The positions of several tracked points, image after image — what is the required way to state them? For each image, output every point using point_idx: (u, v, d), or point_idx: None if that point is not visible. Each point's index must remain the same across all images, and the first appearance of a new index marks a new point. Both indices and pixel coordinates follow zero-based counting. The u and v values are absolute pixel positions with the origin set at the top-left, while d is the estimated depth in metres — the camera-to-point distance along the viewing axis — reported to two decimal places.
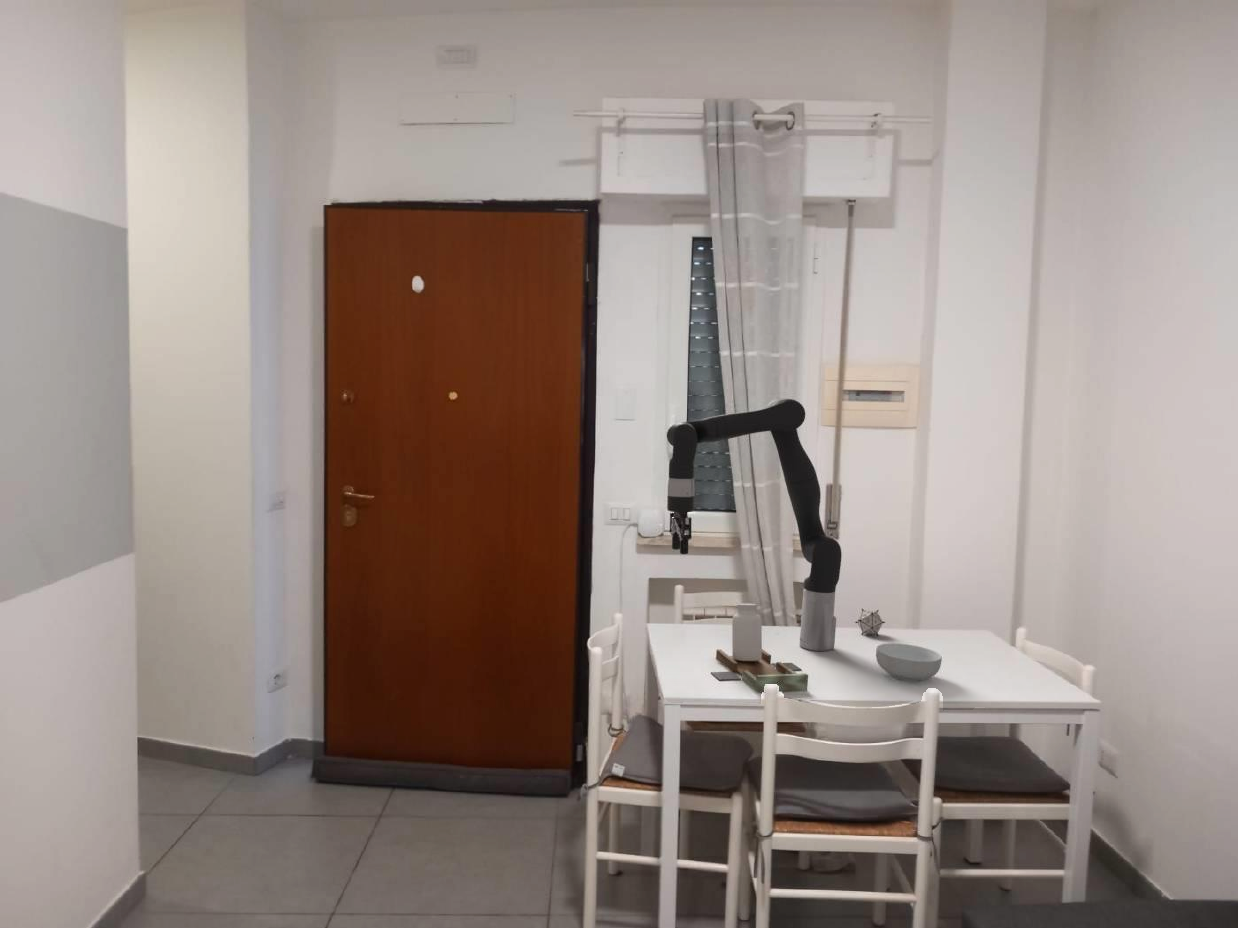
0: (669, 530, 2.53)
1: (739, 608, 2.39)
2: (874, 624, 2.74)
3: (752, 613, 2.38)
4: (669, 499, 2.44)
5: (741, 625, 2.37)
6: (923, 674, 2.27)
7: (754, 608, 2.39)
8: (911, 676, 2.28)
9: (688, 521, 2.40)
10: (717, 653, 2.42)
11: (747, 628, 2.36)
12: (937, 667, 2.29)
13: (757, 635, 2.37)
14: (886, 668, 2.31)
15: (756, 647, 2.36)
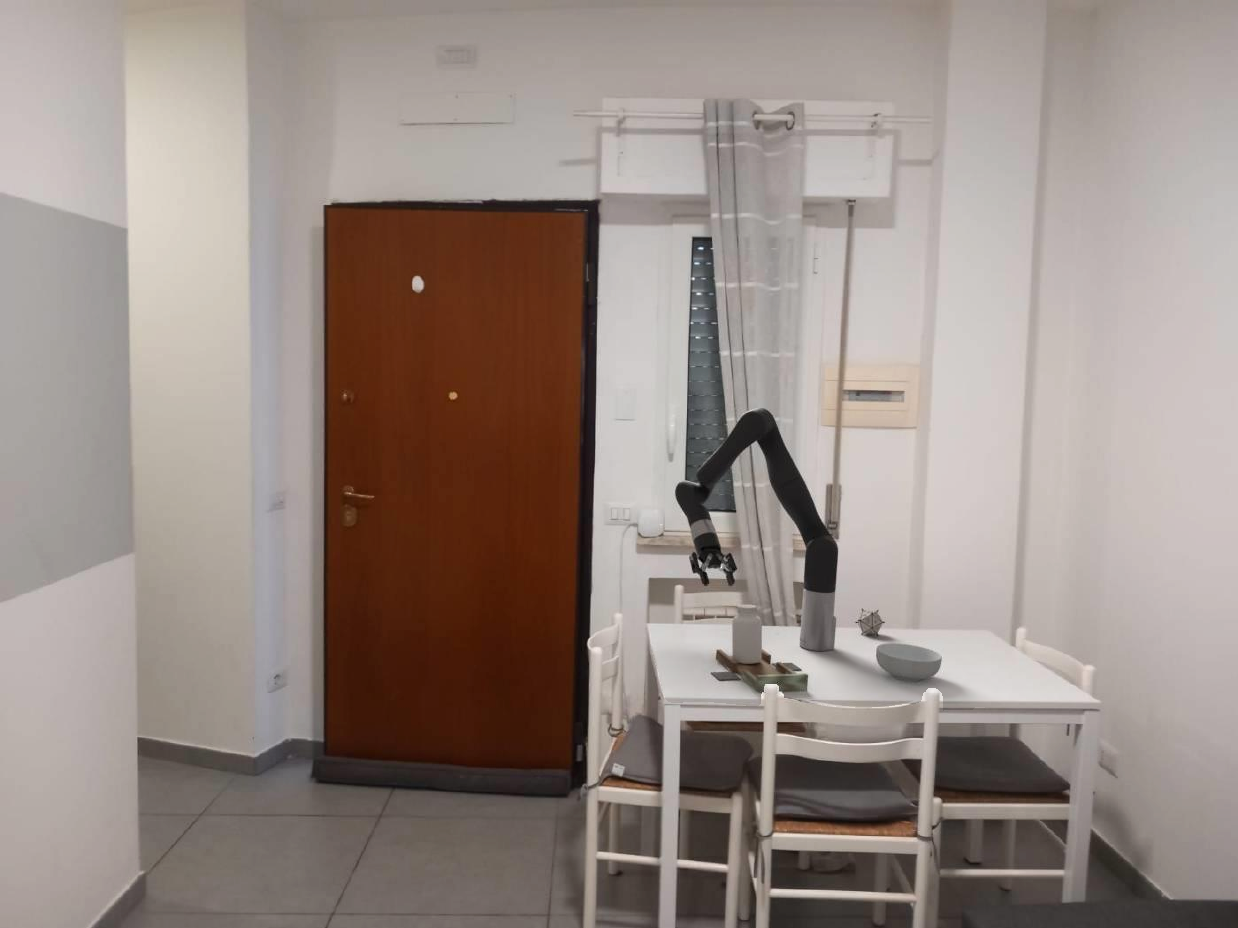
0: None
1: (739, 611, 2.38)
2: (874, 624, 2.74)
3: (752, 616, 2.37)
4: None
5: (741, 628, 2.36)
6: (923, 674, 2.27)
7: (754, 611, 2.37)
8: (911, 676, 2.28)
9: (691, 556, 2.60)
10: (717, 653, 2.42)
11: (748, 631, 2.35)
12: (937, 667, 2.29)
13: (757, 637, 2.36)
14: (886, 668, 2.31)
15: (756, 650, 2.36)
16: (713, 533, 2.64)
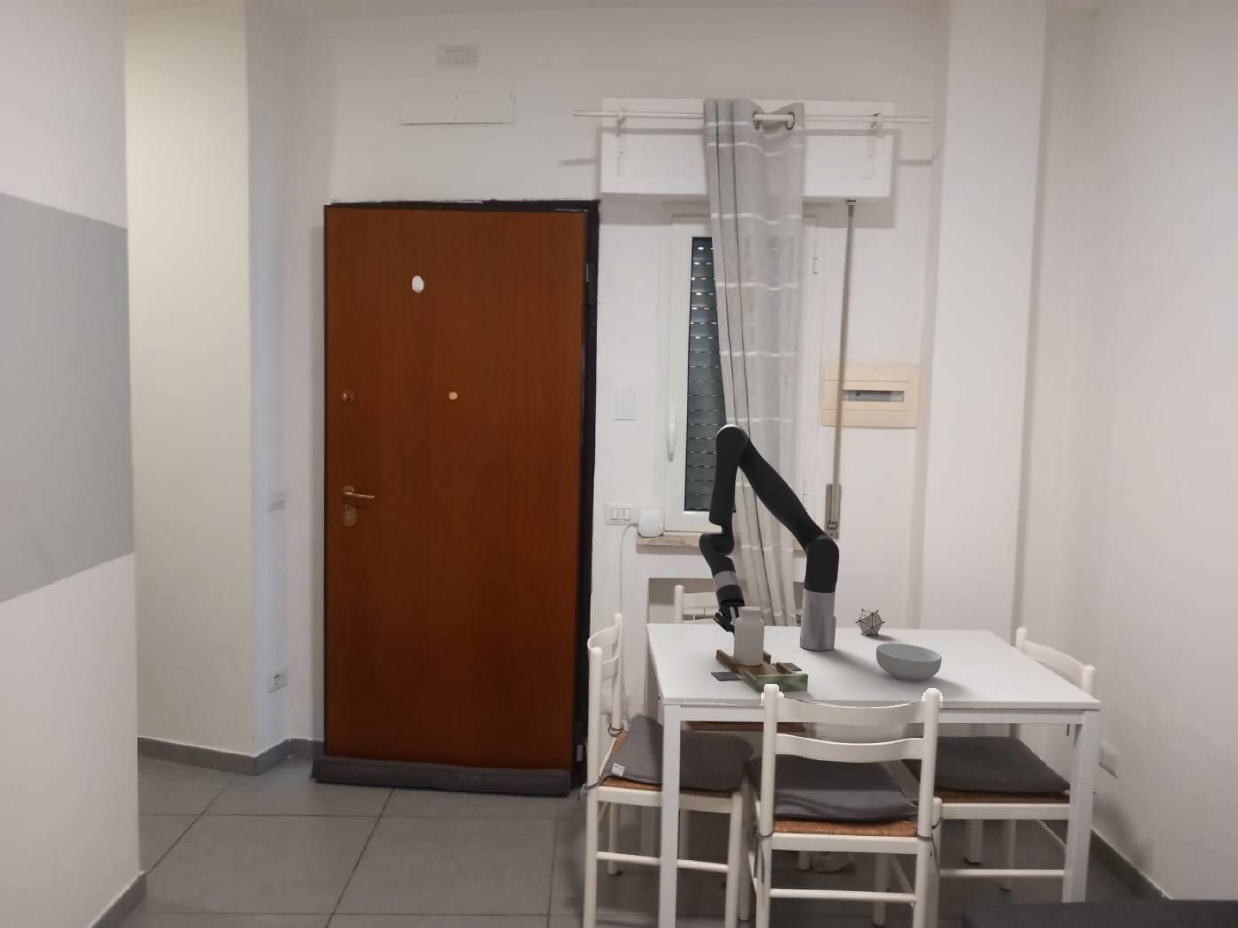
0: None
1: (743, 613, 2.36)
2: (874, 624, 2.74)
3: (756, 618, 2.36)
4: None
5: (744, 631, 2.34)
6: (923, 674, 2.27)
7: (758, 613, 2.36)
8: (911, 676, 2.28)
9: (716, 618, 2.46)
10: (717, 653, 2.42)
11: (750, 634, 2.34)
12: (937, 667, 2.29)
13: (759, 640, 2.35)
14: (886, 668, 2.31)
15: (758, 653, 2.35)
16: (735, 585, 2.51)
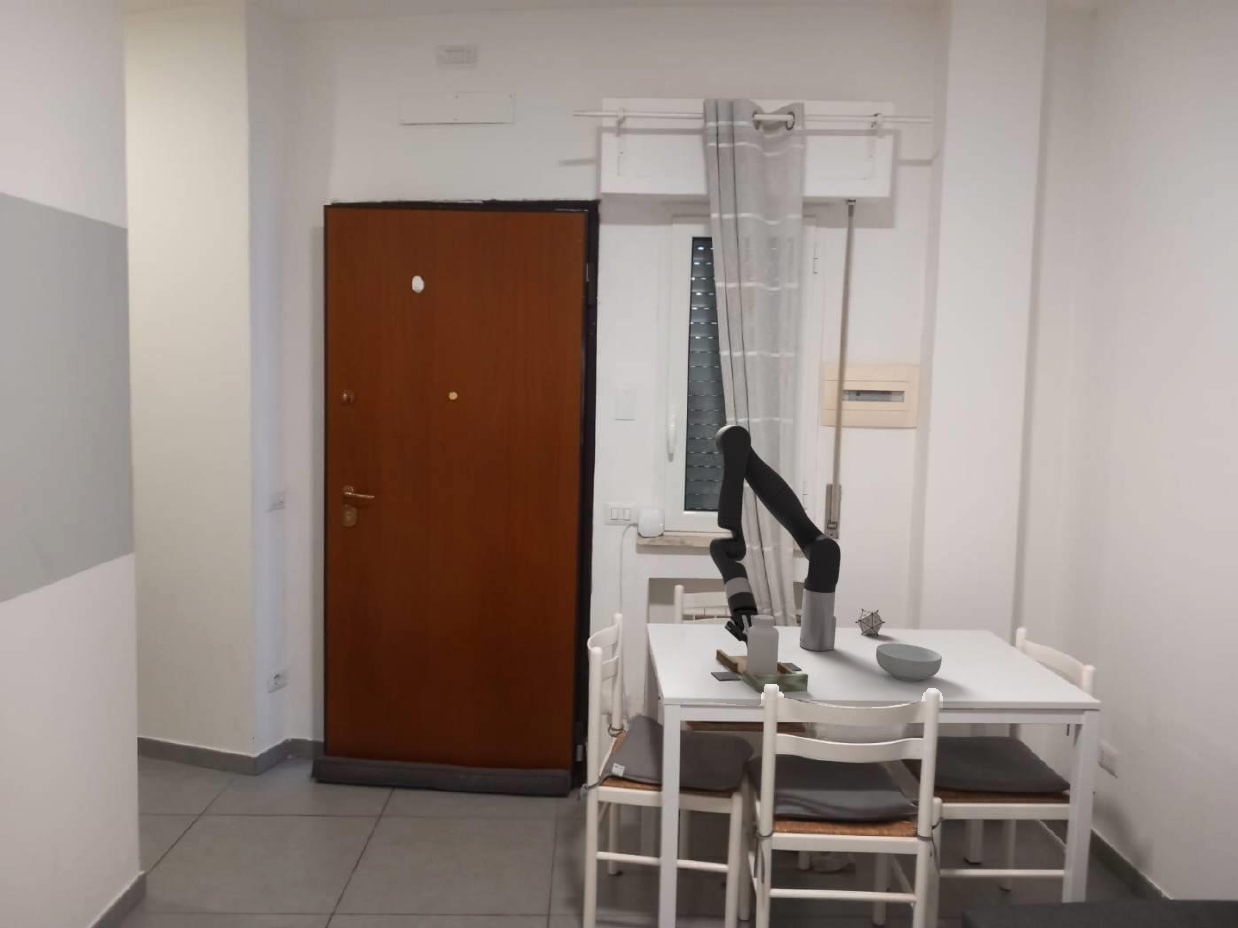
0: None
1: (757, 622, 2.27)
2: (874, 624, 2.74)
3: (770, 627, 2.27)
4: None
5: (758, 640, 2.25)
6: (923, 674, 2.27)
7: (772, 622, 2.27)
8: (911, 676, 2.28)
9: (728, 626, 2.37)
10: (717, 653, 2.42)
11: (765, 643, 2.25)
12: (937, 667, 2.29)
13: (774, 650, 2.26)
14: (886, 668, 2.31)
15: (773, 663, 2.26)
16: (747, 592, 2.42)
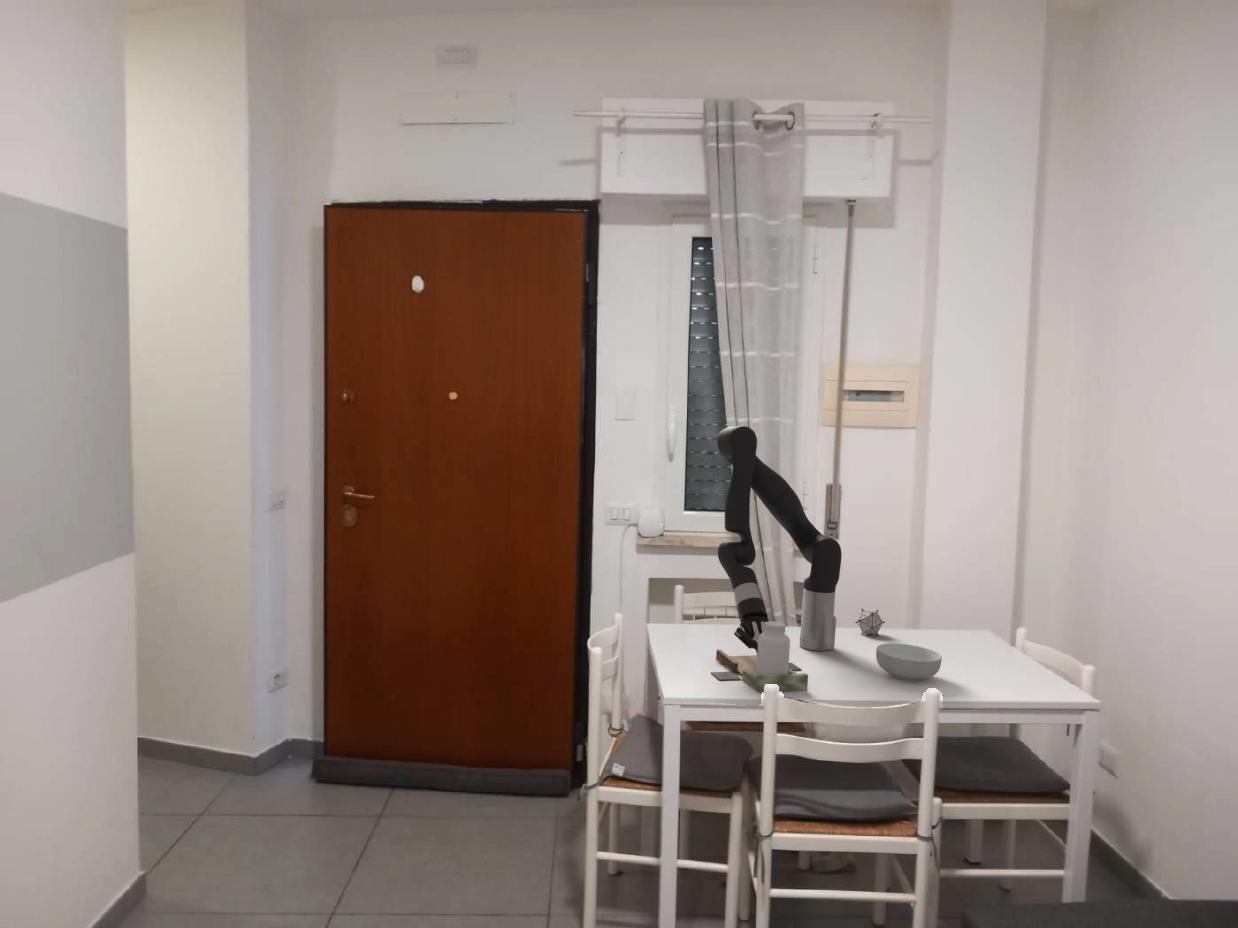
0: None
1: (767, 629, 2.20)
2: (874, 624, 2.74)
3: (781, 635, 2.20)
4: None
5: (769, 648, 2.19)
6: (923, 674, 2.27)
7: (783, 629, 2.20)
8: (911, 676, 2.28)
9: (738, 633, 2.30)
10: (717, 653, 2.42)
11: (776, 651, 2.18)
12: (937, 667, 2.29)
13: (785, 658, 2.19)
14: (886, 668, 2.31)
15: (784, 671, 2.20)
16: (757, 598, 2.35)
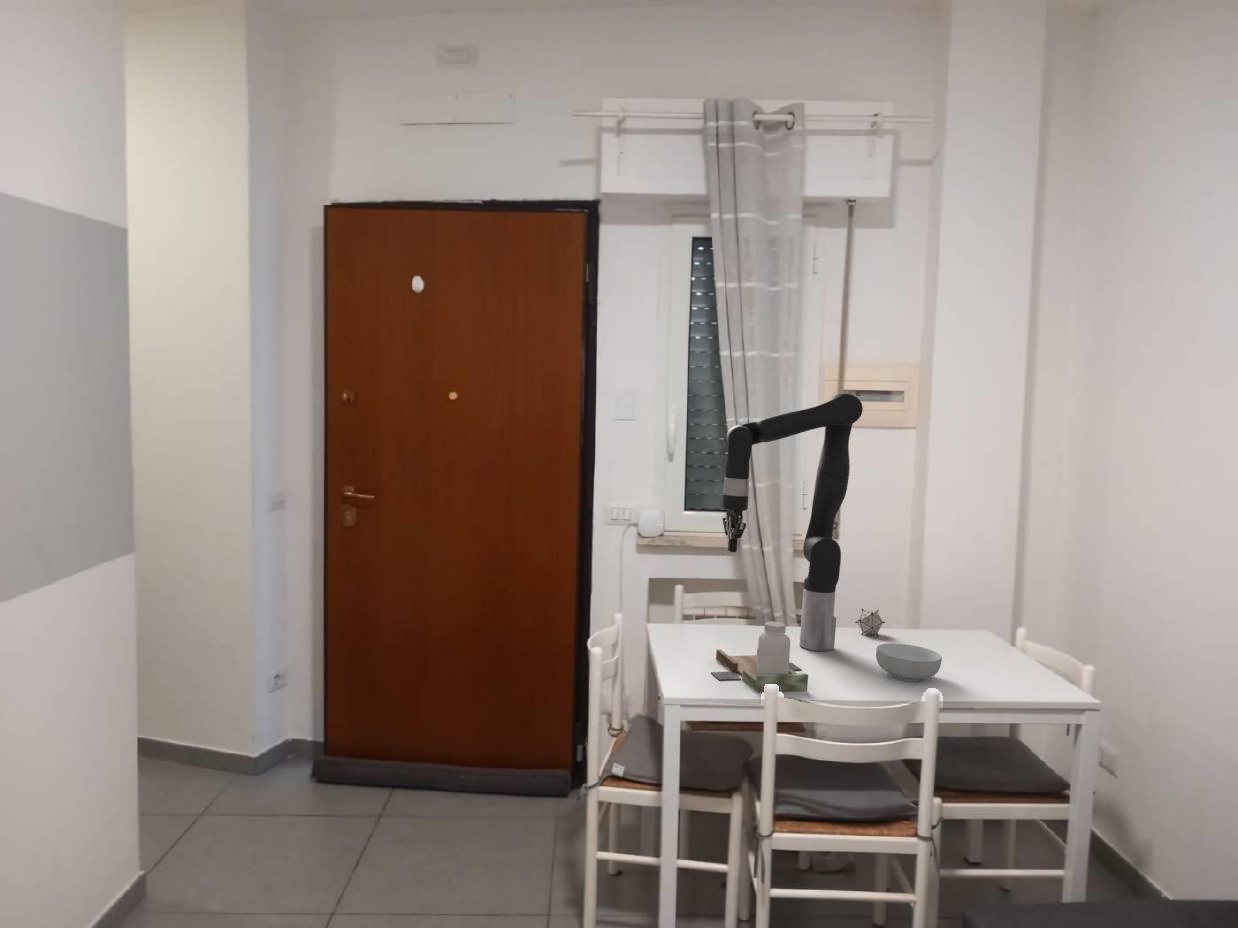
0: (725, 533, 2.61)
1: (767, 629, 2.20)
2: (874, 624, 2.74)
3: (781, 635, 2.20)
4: (725, 498, 2.56)
5: (769, 648, 2.19)
6: (923, 674, 2.27)
7: (784, 629, 2.20)
8: (911, 676, 2.28)
9: (742, 527, 2.53)
10: (717, 653, 2.42)
11: (777, 651, 2.18)
12: (937, 667, 2.29)
13: (785, 658, 2.19)
14: (886, 668, 2.31)
15: (784, 671, 2.20)
16: None
